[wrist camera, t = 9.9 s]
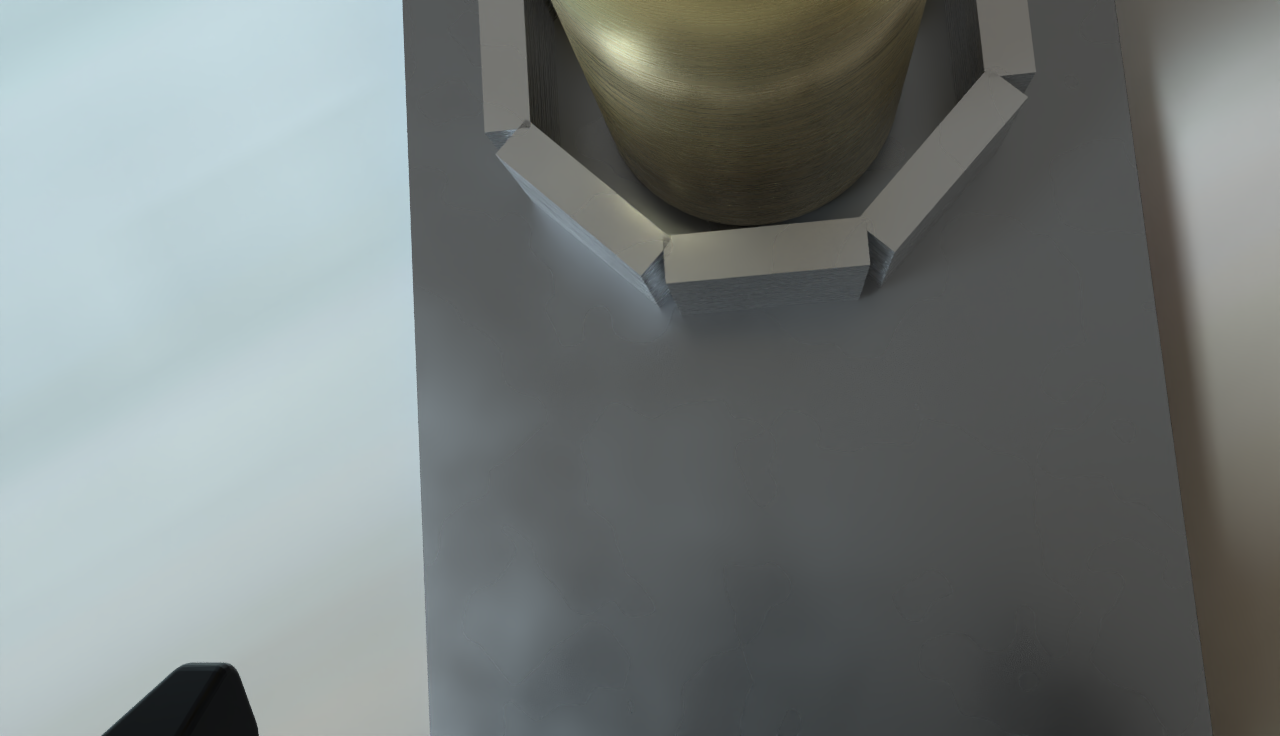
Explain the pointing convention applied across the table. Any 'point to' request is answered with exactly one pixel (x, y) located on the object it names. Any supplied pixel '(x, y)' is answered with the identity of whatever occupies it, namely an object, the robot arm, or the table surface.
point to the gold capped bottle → (745, 95)
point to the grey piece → (796, 409)
